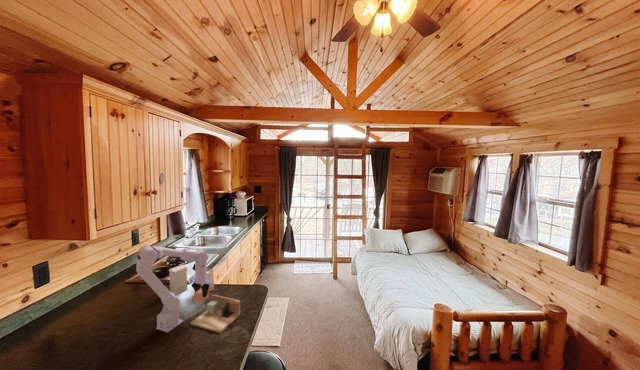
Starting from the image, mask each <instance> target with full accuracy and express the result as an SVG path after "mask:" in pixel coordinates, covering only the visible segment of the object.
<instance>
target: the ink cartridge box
mask: <svg viewBox="0 0 640 370" xmlns="http://www.w3.org/2000/svg"><path fill="white" fill-rule="evenodd" d="M207 277H208V278H207V279H209V280H211V281H213V285H212V286H210V287H209V293H210V292H211V291H214V290H215V283H214V281H215V279H214V277H215V276H214V269H213V268H210V269H207ZM202 285H204V284H201V286H202Z"/></svg>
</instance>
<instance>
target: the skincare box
mask: <svg viewBox="0 0 640 370" xmlns="http://www.w3.org/2000/svg"><path fill="white" fill-rule="evenodd" d="M187 270H188V267H187V266H184V264H183V265H182V264H181V265H178V266H175V267H173V268H170V269H168V272H169V275H168V276H169V291H170V292H173V293H174V294H175V296H177V295H179V294H182V293H183V292H185V291H187V290H189V289H188V271H187Z"/></svg>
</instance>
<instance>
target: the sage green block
mask: <svg viewBox="0 0 640 370" xmlns="http://www.w3.org/2000/svg"><path fill="white" fill-rule="evenodd" d="M219 309H220V300H215V299H214V300H211V301H209V302H208V303H207V304H206V311H207V313H210V314H214V313H216V312H217V311H218V310H219Z"/></svg>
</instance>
